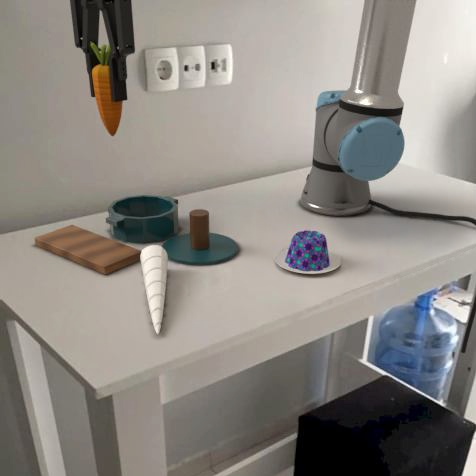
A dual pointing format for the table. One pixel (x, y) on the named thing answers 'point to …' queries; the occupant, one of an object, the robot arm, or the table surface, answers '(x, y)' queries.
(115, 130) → the carrot
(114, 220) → the pot
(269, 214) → the table surface
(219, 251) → the lid
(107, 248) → the board
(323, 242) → the pudding
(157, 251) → the unicorn horn
